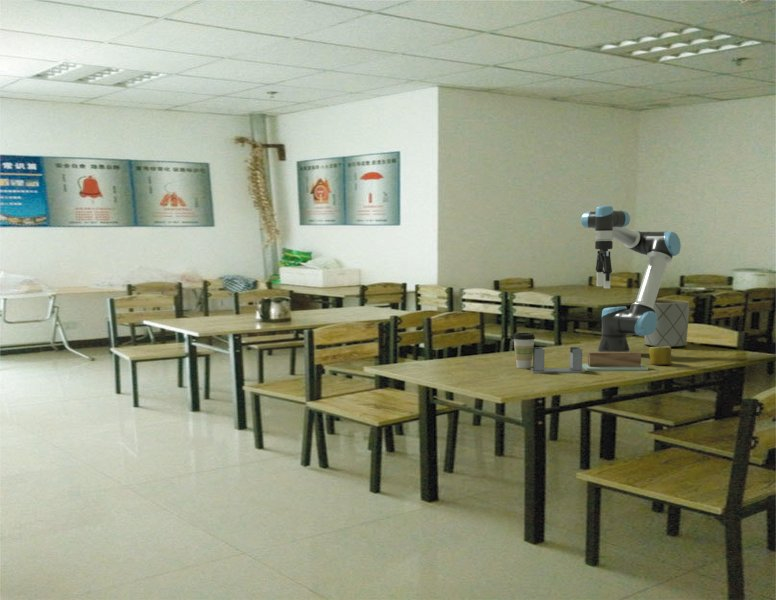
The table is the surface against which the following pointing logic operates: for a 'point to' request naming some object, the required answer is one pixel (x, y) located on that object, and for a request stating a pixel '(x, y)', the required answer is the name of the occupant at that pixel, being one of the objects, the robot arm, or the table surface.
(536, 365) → the standards
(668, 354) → the mug
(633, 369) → the mat
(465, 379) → the table surface
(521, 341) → the coffee cup
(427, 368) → the table surface
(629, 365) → the rail
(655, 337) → the planter
